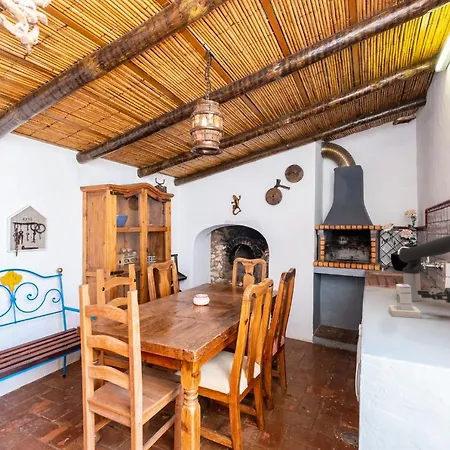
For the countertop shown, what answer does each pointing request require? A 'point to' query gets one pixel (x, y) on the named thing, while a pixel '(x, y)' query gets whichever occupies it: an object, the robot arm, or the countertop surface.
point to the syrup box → (404, 297)
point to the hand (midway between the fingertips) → (419, 294)
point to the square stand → (404, 312)
